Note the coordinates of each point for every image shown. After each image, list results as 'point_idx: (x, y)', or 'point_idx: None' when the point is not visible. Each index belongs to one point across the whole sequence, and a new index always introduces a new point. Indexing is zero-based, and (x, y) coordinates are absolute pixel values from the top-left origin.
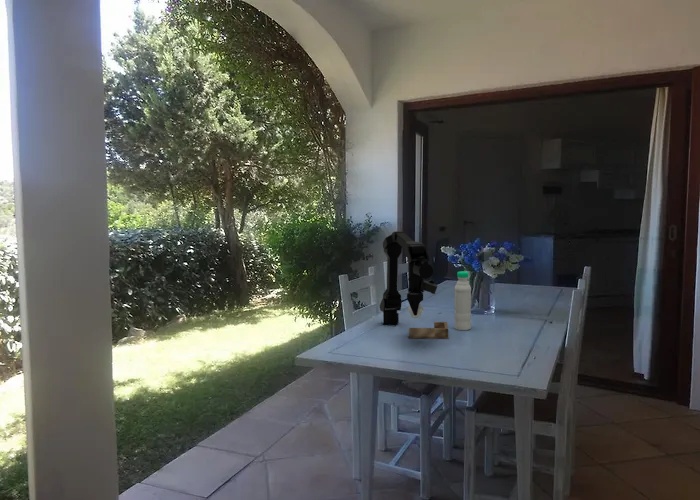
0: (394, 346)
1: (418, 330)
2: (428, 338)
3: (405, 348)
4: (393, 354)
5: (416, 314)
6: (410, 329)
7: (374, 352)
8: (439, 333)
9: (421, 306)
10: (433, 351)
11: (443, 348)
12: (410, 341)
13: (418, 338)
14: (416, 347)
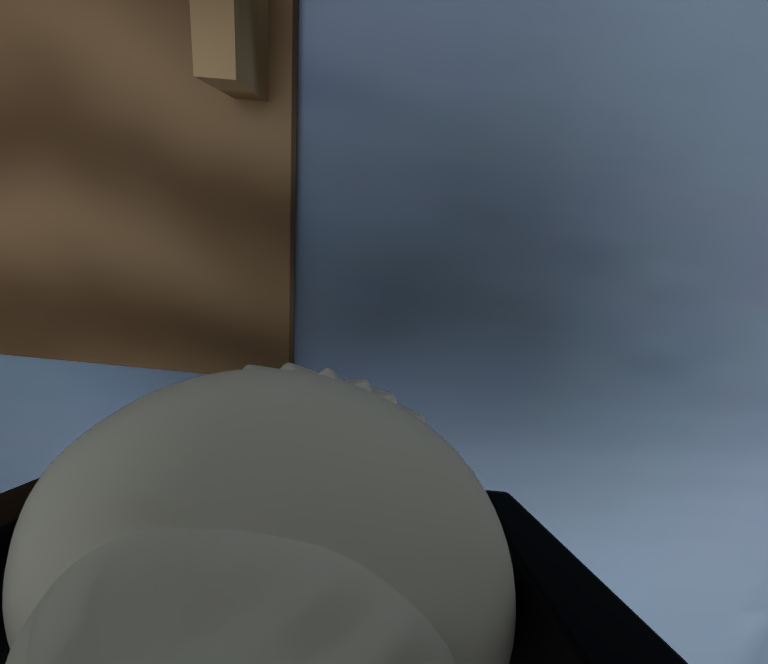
0: (533, 493)
1: (52, 270)
2: (294, 182)
3: (604, 418)
4: (747, 510)
5: (520, 512)
6: (31, 346)
7: (662, 617)
8: (256, 25)
9: (308, 513)
10: (757, 175)
11: (677, 44)
12: (392, 364)
13: (293, 285)
14: (590, 327)
